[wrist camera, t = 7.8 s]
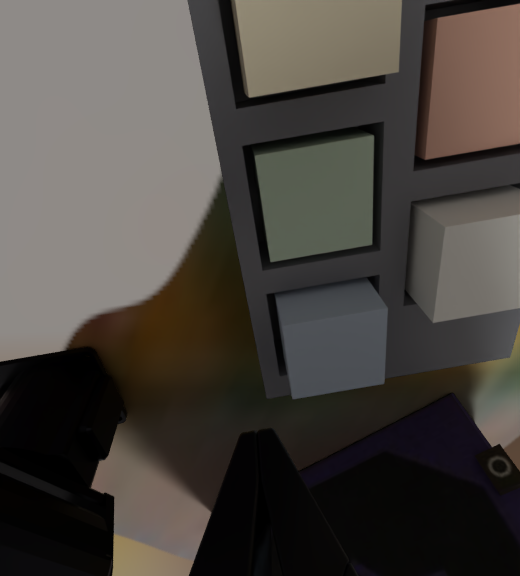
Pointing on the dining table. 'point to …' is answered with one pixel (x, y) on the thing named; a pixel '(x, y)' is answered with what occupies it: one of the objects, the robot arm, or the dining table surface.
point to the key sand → (314, 42)
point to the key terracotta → (469, 83)
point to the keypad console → (386, 192)
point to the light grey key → (465, 253)
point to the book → (422, 499)
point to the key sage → (315, 192)
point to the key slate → (332, 337)
